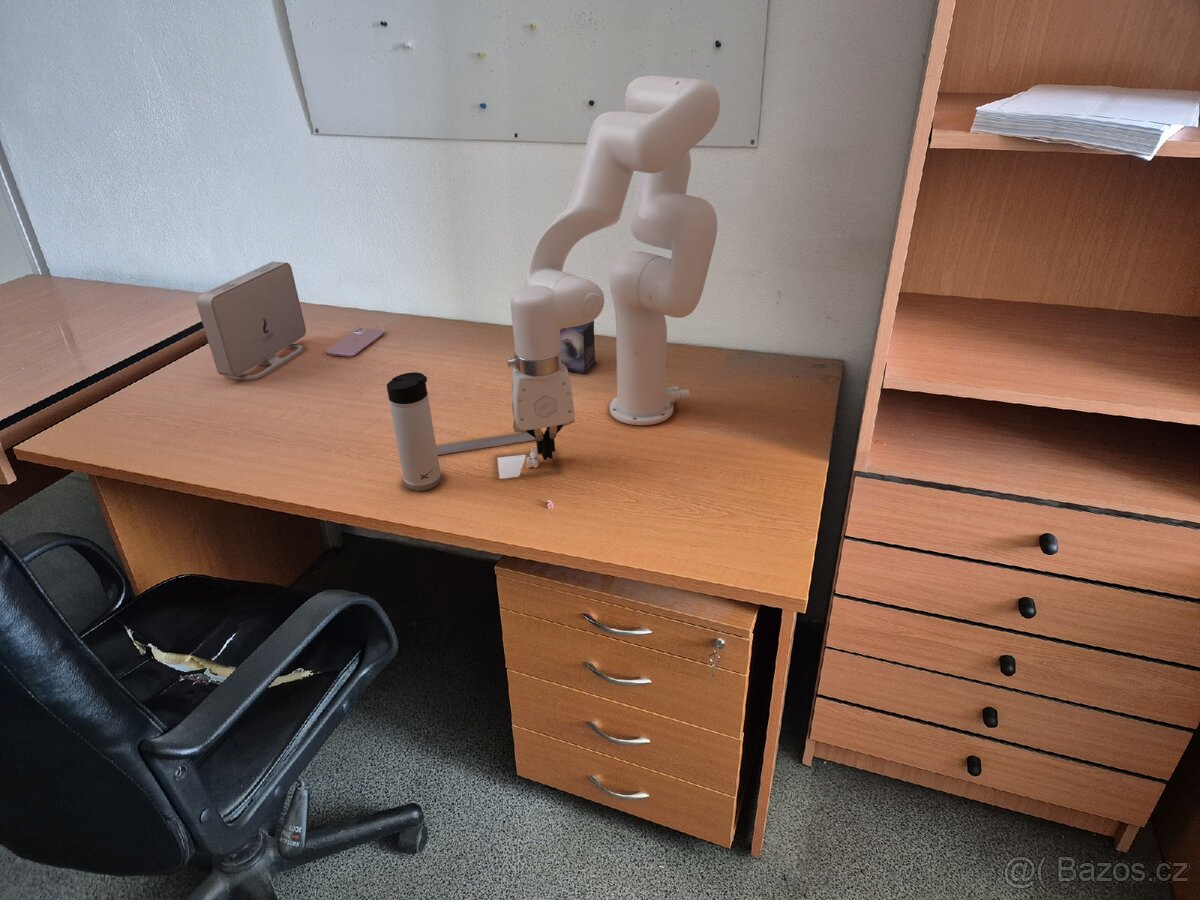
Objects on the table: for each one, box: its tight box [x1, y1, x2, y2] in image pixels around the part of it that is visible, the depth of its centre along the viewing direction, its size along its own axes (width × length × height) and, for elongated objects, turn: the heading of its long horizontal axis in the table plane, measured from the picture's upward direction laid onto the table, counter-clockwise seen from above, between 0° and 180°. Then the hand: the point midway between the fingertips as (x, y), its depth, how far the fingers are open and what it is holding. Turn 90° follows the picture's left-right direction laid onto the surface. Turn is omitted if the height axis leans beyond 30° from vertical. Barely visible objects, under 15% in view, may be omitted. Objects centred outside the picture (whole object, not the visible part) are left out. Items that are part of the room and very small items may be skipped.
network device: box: [196, 261, 307, 381], centre depth 175 cm, size 26×9×20 cm, turn 161°
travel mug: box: [386, 371, 442, 492], centre depth 130 cm, size 6×7×20 cm
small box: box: [560, 319, 596, 375], centre depth 171 cm, size 11×6×10 cm, turn 68°
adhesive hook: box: [525, 446, 541, 469], centre depth 138 cm, size 3×3×3 cm
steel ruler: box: [436, 432, 536, 456], centre depth 145 cm, size 20×3×1 cm, turn 105°
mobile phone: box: [325, 327, 385, 358], centre depth 187 cm, size 8×1×15 cm
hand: (546, 455), depth 139 cm, fingers closed
